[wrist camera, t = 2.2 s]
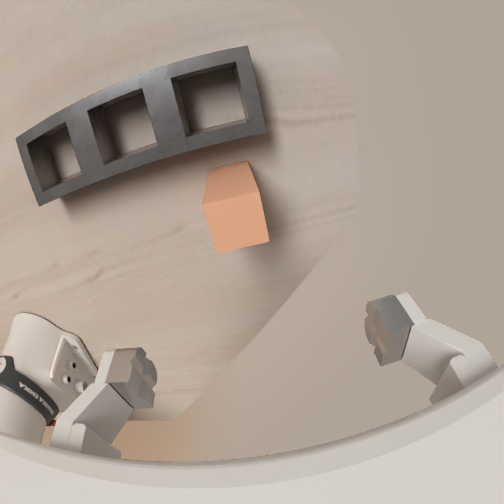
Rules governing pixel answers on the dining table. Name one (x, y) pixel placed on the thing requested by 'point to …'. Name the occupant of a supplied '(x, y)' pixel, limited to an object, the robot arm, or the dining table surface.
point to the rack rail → (162, 118)
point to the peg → (234, 208)
